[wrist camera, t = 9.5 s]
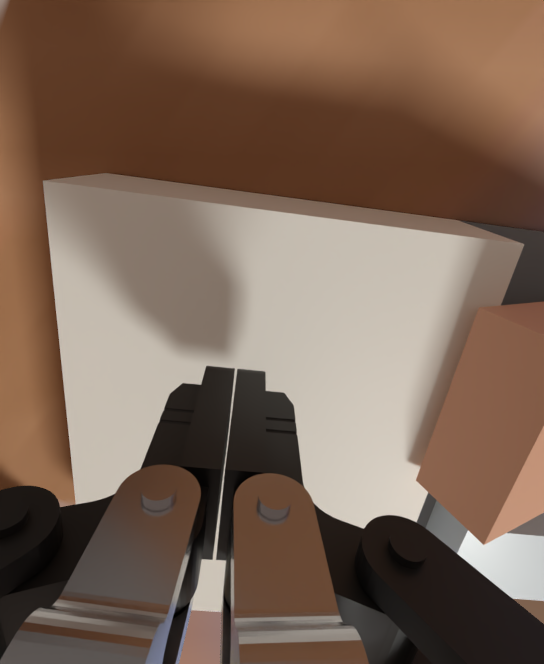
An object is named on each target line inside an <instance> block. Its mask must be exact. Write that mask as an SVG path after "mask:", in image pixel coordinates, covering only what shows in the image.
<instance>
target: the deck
mask: <svg viewBox="0 0 544 664" xmlns="http://www.w3.org/2000/svg"><path fill="white" fill-rule="evenodd" d="M43 188H44V198H45V207H46V217H47V227H48V237H49V246H50V256H51V266H52V276H53V286H54V295H55V305H56V315H57V325H58V335H59V344H60V354H61V364H62V374H63V383H64V393H65V403H66V413H67V423H68V432H69V442H70V452H71V462H72V471H73V481H74V491H75V501H76V504H81V503H87V502H92V501H96V500H100V499H103V498H106V497H109V496H111V495H113V494H115V493H116V491H117V489H118V488H119V486H120V485H121V483H122V482H123V481H124V480H125V479H126V478H127V477H129V476H130V475H131V474H133V473H134V472H136V471H138V470H140V469H141V466H142V464H143V461H144V459H145V456H146V453H147V451H148V448H149V446H150V443H151V441H152V438H153V435H154V433H155V430H156V428H157V425H158V423H159V422H160V418H161V415H162V412H163V411H164V407H165V405H166V402H167V400H168V397H169V394H170V393H171V392H173V391H174V390H175V389H176V388H177V387H179V386H180V385H181V384H182V383H188V384H199V385H201V383H202V380H203V376H204V372H205V369H206V366H216V367H226V368H235V373H234V383H233V393H232V403H231V413H230V423H229V432H228V441H229V433H230V425H231V417H232V409H233V400H234V392H235V384H236V376H237V369H247V370H257V371H265V373H266V391H272V392H282V393H285V394H286V396H287V397H288V398H289V400H290V401H291V402H292V404H293V405H294V411H295V423H296V428H297V436H298V445H299V453H300V462H301V470H302V478H303V485H304V488H305V489H306V490H307V491H308V493H309V494H310V496H311V498H312V501H313V503H314V504H315V505H316V506H317V507H318V508H319V509H321V510H322V511H324V512H325V513H327V514H328V515H330V516H332V517H334V518H336V519H339V520H341V521H344V522H347V523H349V524H352V525H355V526H358V527H360V528H363V529H364V528H365V526H366V525H367V524H368V523H369V522H370V521H371V520H373V519H374V518H376V517H379V516H384V515H395V516H401V517H404V518H408V519H410V520H412V521H415V522H417V520H418V517H419V515H420V512H421V509H422V507H423V504H424V502H425V499H426V497H427V494H428V491H426V490H425V489H424V488H423V487H422V486H421V485H420V484H419V483H418V482H417V481H416V478H417V475H418V473H419V470H420V467H421V464H422V462H423V459H424V456H425V453H426V451H427V448H428V445H429V442H430V440H431V437H432V434H433V432H434V429H435V426H436V423H437V421H438V418H439V415H440V412H441V410H442V407H443V404H444V401H445V399H446V396H447V393H448V390H449V388H450V385H451V382H452V379H453V377H454V374H455V371H456V368H457V366H458V363H459V360H460V358H461V355H462V352H463V349H464V347H465V344H466V341H467V338H468V336H469V333H470V330H471V327H472V325H473V322H474V319H475V316H476V314H477V311H478V308H479V307H490V306H501V303H502V301H503V298H504V296H505V293H506V290H507V288H508V285H509V283H510V280H511V278H512V275H513V272H514V270H515V267H516V265H517V262H518V260H519V257H520V254H521V252H522V249H523V247H524V244H522V243H520V242H517V241H514V240H511V239H508V238H506V237H503V236H500V235H497V234H494V233H492V232H489V231H486V230H483V229H480V228H478V227H475V226H472V225H469V224H466V223H464V222H461V221H458V220H452V219H445V218H437V217H430V216H423V215H415V214H408V213H400V212H393V211H385V210H378V209H370V208H363V207H356V206H348V205H341V204H333V203H326V202H318V201H311V200H303V199H296V198H289V197H281V196H274V195H266V194H259V193H251V192H244V191H236V190H229V189H222V188H214V187H207V186H199V185H192V184H184V183H177V182H169V181H162V180H155V179H147V178H140V177H132V176H125V175H117V174H110V173H102V174H93V175H85V176H77V177H69V178H60V179H52V180H44V181H43ZM228 441H227V449H228ZM227 449H226V457H225V465H224V473H223V481H222V489H221V496H220V504H219V512H218V520H217V528H216V536H215V544H214V552H213V560H206V559H202V561H201V567H200V574H199V580H198V585H197V589H196V591H195V594H194V598H193V605H192V609H191V610H201V611H214V612H221V605H222V596H223V587H224V576H225V566H226V561H225V560H216V554H217V545H218V535H219V525H220V515H221V505H222V495H223V485H224V475H225V466H226V458H227Z"/></svg>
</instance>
